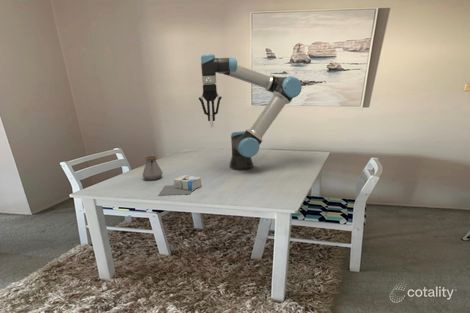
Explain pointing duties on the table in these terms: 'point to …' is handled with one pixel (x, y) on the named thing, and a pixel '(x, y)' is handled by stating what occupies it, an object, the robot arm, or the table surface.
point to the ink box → (187, 182)
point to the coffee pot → (152, 169)
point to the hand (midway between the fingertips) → (211, 126)
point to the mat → (174, 191)
